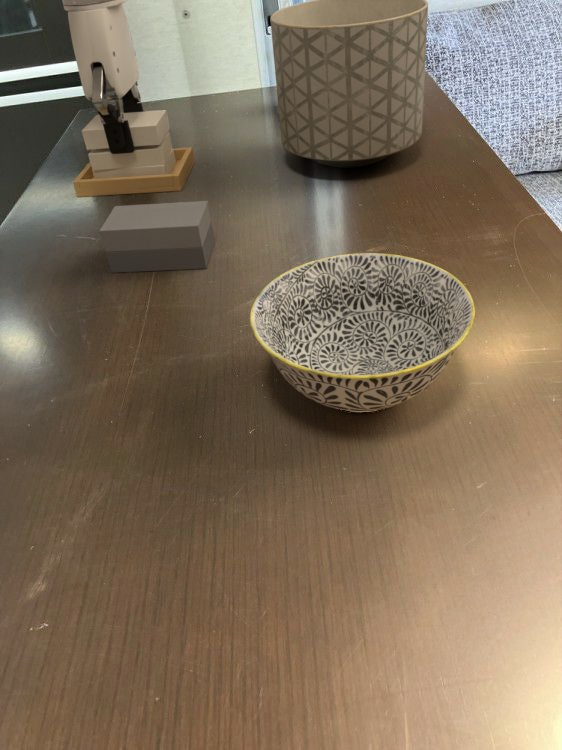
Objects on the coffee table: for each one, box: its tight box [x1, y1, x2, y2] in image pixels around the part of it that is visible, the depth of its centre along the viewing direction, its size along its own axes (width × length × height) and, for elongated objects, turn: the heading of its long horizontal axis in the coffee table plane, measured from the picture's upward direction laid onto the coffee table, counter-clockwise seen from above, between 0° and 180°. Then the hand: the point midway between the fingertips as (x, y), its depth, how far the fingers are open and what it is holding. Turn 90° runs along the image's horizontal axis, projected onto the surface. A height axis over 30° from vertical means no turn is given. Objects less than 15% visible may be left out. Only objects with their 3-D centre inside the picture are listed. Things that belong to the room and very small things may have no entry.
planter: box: [269, 0, 429, 169], centre depth 81 cm, size 19×19×18 cm
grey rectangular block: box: [98, 200, 216, 274], centre depth 67 cm, size 10×6×5 cm, turn 86°
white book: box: [81, 109, 171, 151], centre depth 84 cm, size 10×6×2 cm, turn 86°
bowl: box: [249, 252, 476, 411], centre depth 47 cm, size 16×16×8 cm
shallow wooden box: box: [72, 146, 196, 198], centre depth 87 cm, size 15×11×2 cm
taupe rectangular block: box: [87, 131, 176, 179], centre depth 86 cm, size 10×7×4 cm
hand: (129, 141), depth 85 cm, fingers closed on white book, 6 cm apart
